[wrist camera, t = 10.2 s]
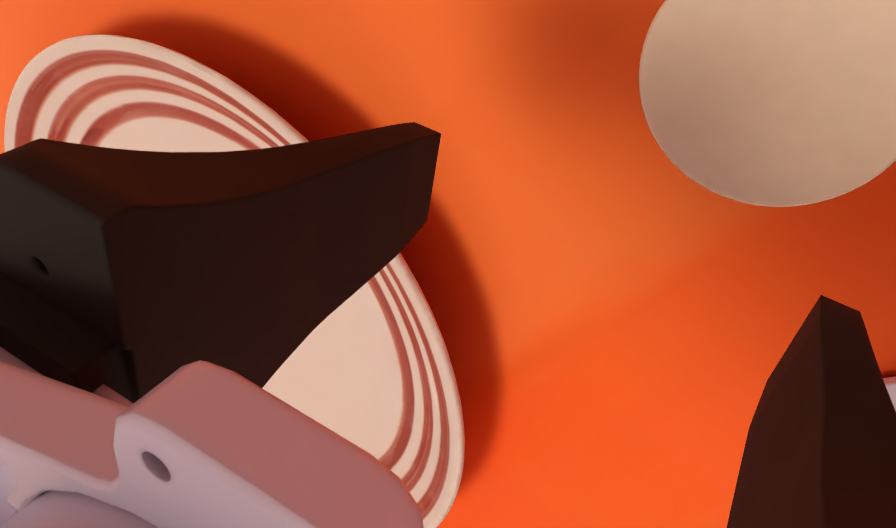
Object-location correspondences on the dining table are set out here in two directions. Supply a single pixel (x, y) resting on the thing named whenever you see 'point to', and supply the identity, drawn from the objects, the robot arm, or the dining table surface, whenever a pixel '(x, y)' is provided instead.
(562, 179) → the dining table surface
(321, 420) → the dinner plate
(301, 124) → the dining table surface
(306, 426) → the robot arm
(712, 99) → the beige cylinder
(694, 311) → the dining table surface
